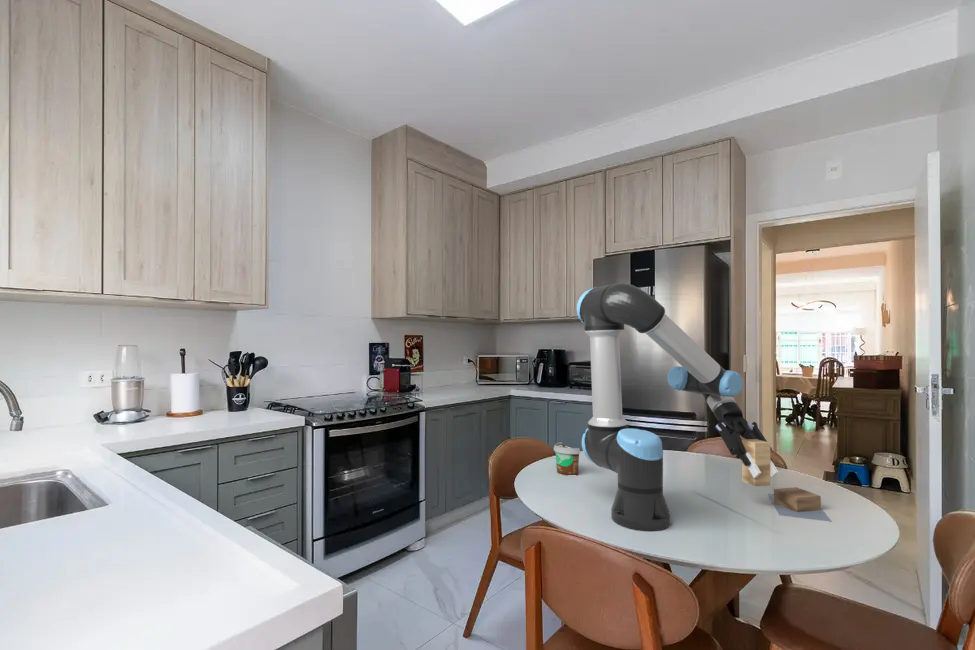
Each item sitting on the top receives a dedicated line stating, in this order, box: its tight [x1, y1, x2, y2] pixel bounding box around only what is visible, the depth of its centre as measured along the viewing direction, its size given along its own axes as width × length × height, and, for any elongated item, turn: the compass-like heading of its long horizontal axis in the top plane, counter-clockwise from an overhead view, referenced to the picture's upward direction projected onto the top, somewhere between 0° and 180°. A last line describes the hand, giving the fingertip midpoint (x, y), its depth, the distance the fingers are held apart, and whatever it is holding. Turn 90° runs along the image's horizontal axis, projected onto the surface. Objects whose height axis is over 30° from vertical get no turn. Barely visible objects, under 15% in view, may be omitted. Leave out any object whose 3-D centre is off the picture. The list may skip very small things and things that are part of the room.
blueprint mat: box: [767, 493, 833, 523], centre depth 135 cm, size 20×12×1 cm, turn 157°
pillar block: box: [741, 439, 771, 487], centre depth 135 cm, size 5×5×12 cm
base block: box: [773, 486, 822, 512], centre depth 136 cm, size 8×8×4 cm
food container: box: [553, 441, 581, 476], centre depth 172 cm, size 12×6×10 cm, turn 25°
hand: (766, 475), depth 131 cm, fingers closed on pillar block, 5 cm apart
